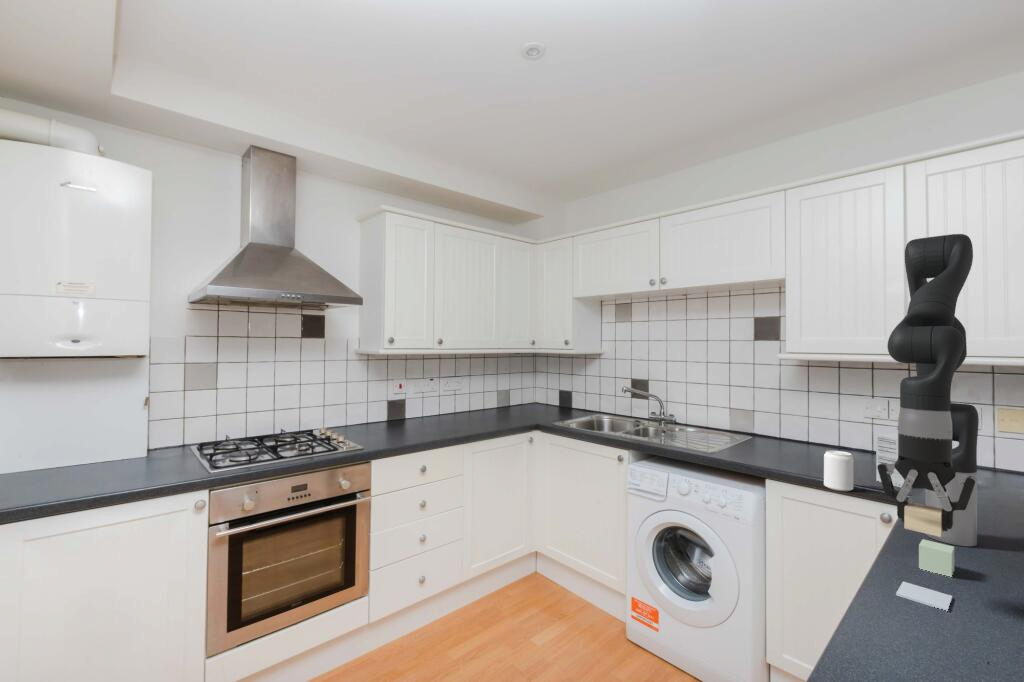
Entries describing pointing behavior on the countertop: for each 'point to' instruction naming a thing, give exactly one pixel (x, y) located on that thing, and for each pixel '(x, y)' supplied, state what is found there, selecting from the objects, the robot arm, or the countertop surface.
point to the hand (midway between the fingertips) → (924, 525)
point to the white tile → (924, 596)
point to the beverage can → (838, 470)
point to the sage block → (936, 557)
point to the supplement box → (888, 456)
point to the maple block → (923, 518)
